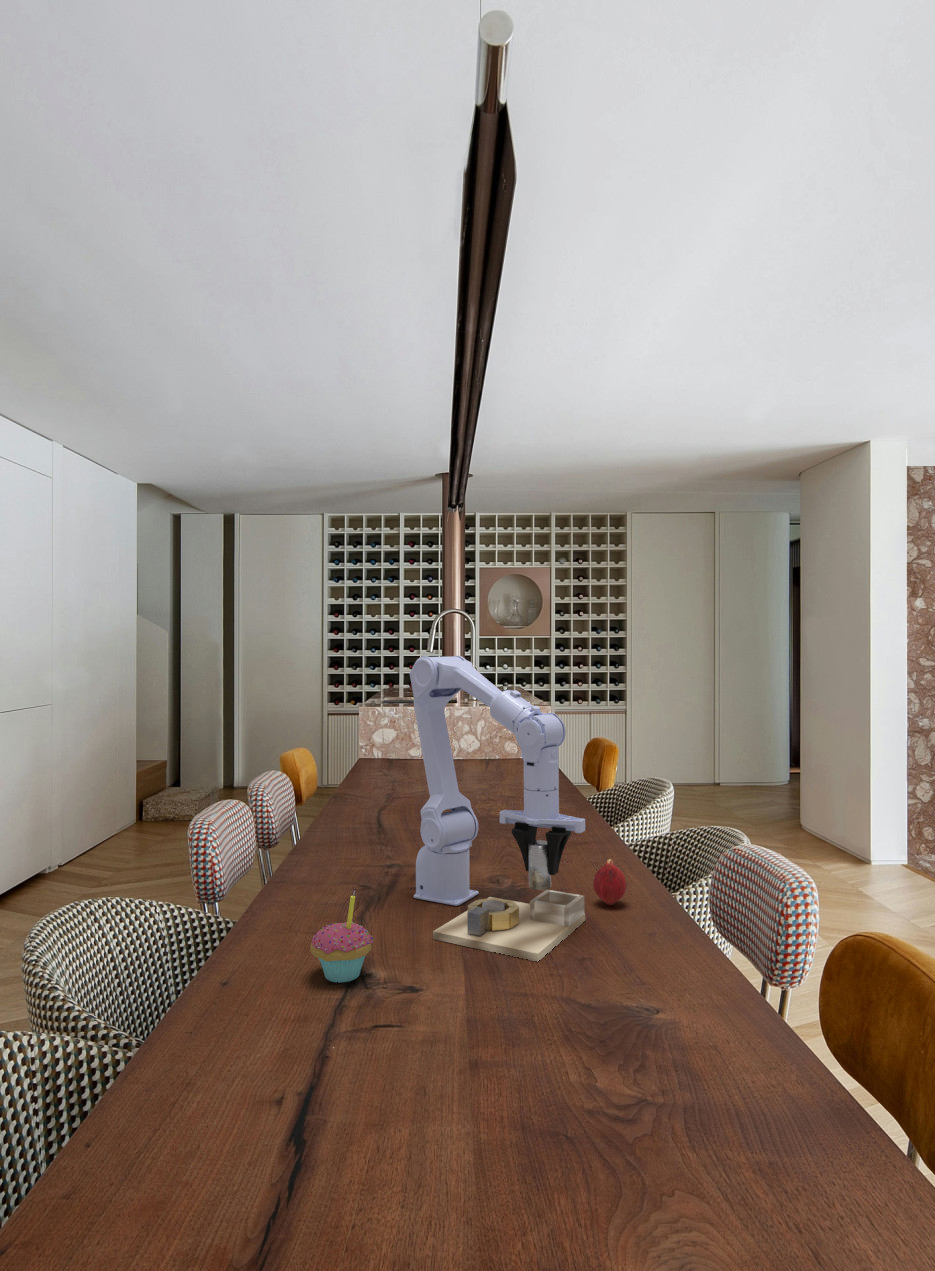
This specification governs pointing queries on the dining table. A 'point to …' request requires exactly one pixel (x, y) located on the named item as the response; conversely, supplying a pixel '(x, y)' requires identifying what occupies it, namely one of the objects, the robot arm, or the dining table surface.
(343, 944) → the cupcake
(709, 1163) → the dining table surface
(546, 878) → the pin
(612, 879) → the onion
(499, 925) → the ring nut
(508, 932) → the board
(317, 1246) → the dining table surface
